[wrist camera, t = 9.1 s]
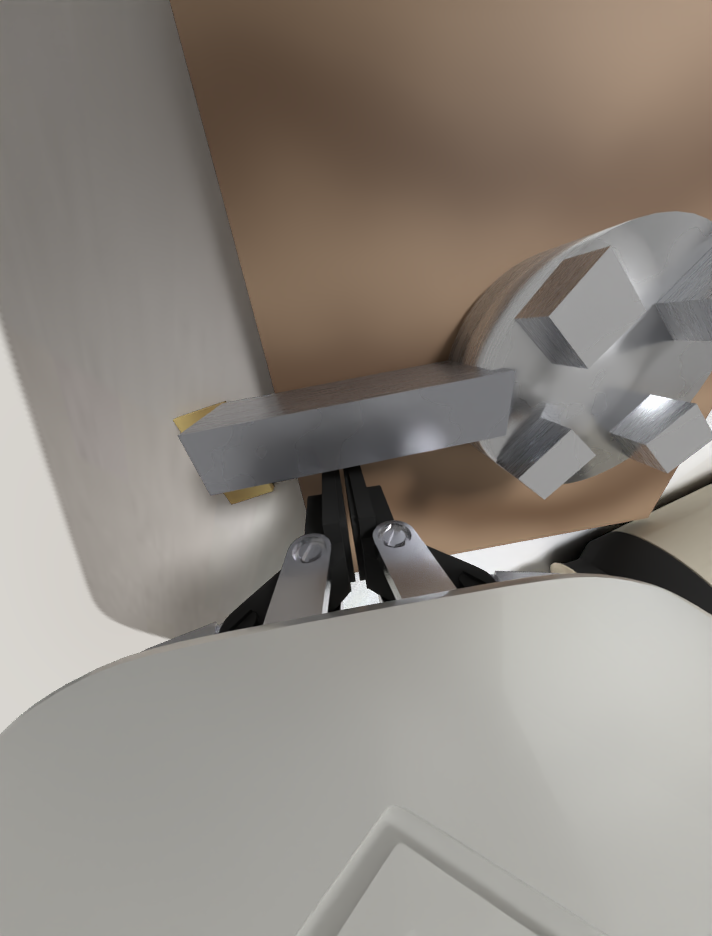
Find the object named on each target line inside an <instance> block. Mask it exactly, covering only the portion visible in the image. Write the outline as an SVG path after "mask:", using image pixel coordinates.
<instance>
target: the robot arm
mask: <svg viewBox="0 0 712 936" xmlns="http://www.w3.org/2000/svg"><path fill="white" fill-rule="evenodd" d="M343 473H344V480H345V487H346V494H347V501H348V508H349V515H350V521H351V527H352V534H353V540H354V546H355V552H356V558H357V564H358V571H359V577H360V581H361V580H366V585H367V589H368V588H369V589H370V590H372V591H374V592H375V593H377V594H378V597H379V602H380V603H377V604H372V605H366V606H361V607H355V608H350V609H345V610H343V600H344V599H345V597H346V596H347V595H348V594H349V592H351V584H350V582H355V574H354V567H353V560H352V553H351V546H350V539H349V532H348V525H347V518H346V511H345V505H344V498H343V492H342V485H341V478H340V472H339V469H338V470H333V471H328V472H324V473H322V494H319V495H312V496H308V498H307V510H306V524H305V535H304V536H301V537H299V538H298V539H296V540H295V541H294V542H293V543H292V544H291V545H290V547H289V549H288V551H287V554H286V557H285V560H284V563H283V566H282V569H281V570H280V571H279V572H278V573H277V574H275V575H274V576H273V577H272V578H271V579H270V580H269V581H267V582H266V583H265V584H264V585H263V586H262V587H261V588H259V589H258V590H257V591H256V592H255V593H254V594H253V595H251V596H250V597H249V598H248V599H247V600H246V601H245V602H243V603H242V604H241V605H240V606H239V607H238V608H237V609H235V610H234V611H233V612H232V613H231V614H230V615H229V616H228V617H227V618H226V619H225V621H224V623H222V624H220V625H218V624H217V623H216V622H214V623H212V624H209V625H207V626H204V627H201V628H199V629H196V630H194V631H191V632H189V633H186V634H184V635H181V636H179V637H176V638H173V639H171V640H168V641H166V642H163V643H161V644H158V645H156V646H153V647H150V648H148V649H146V650H144V651H142V652H140V653H137V654H134V655H130V656H127V657H124V658H122V659H119V660H117V661H114V662H112V663H110V664H107V665H105V666H102V667H100V668H98V669H95V670H93V671H92V672H89V673H88V674H86V675H84V676H82V677H80V678H78V679H76V680H74V681H72V682H70V683H68V684H66V685H65V686H63V687H61V688H59V689H58V690H56V691H54V692H53V693H51V694H49V695H48V696H46V697H45V698H43V699H42V700H40V701H39V702H37V703H36V704H34V705H33V706H32V707H31V708H29V709H28V710H27V711H25V712H24V713H23V714H22V715H20V716H19V717H18V718H17V719H16V720H15V721H14V722H12V724H10V725H9V726H8V727H7V728H6V729H5V730H4V731H3V732H2V733H1V734H0V936H712V615H711V614H709V613H707V612H706V611H704V610H703V609H701V608H699V607H698V606H696V605H694V604H693V603H691V602H689V601H687V600H686V599H684V598H682V597H680V596H678V595H676V594H674V593H672V592H670V591H668V590H666V589H663V588H661V587H658V586H656V585H653V584H649V583H646V582H642V581H638V580H634V579H629V578H624V577H617V576H610V575H603V574H587V573H567V574H560V573H543V572H510V571H495V573H494V575H490V574H488V573H487V572H486V571H484V570H482V569H480V568H478V567H476V566H474V565H471V564H469V563H467V562H464V561H462V560H460V559H457V558H455V557H453V556H450V555H448V554H446V553H443V552H441V551H439V550H436V549H434V548H432V547H429V546H427V545H425V544H424V542H423V541H422V539H421V538H420V537H419V535H418V534H417V533H416V531H415V530H414V529H413V528H412V527H411V526H410V525H409V524H407V523H405V522H402V521H398V520H394V518H393V516H392V513H391V511H390V508H389V506H388V503H387V501H386V498H385V496H384V493H383V490H382V488H381V486H380V485H377V486H371V487H366V483H365V480H364V477H363V473H362V470H361V467H360V465H358V466H353V467H348V468H343Z"/></svg>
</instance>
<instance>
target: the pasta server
mask: <svg viewBox="0 0 712 936" xmlns="http://www.w3.org/2000/svg"><path fill="white" fill-rule="evenodd" d="M711 371H712V221H710V220H709V219H707V218H704V217H702V216H699V215H697V214H694V213H687V212H679V211H672V212H661V213H654V214H650V215H647V216H643V217H639V218H636V219H633V220H630V221H627V222H624V223H622V224H619V225H616V226H613V227H611V228H608V229H605V230H602V231H599V232H597V233H594V234H591V235H588V236H586V237H583V238H580V239H577V240H574V241H572V242H569V243H566V244H563V245H560V246H558V247H555V248H552V249H549V250H547V251H544V252H541V253H539V254H537V255H534V256H532V257H529V258H527V259H526V260H524V261H522V262H520V263H519V264H517V265H515V266H514V267H512V268H511V269H510V270H508V271H507V272H506V273H504V274H503V275H502V276H501V277H499V278H498V279H497V280H496V281H495V282H494V283H493V284H492V285H491V286H490V287H489V288H488V289H487V290H486V291H485V292H484V293H483V295H482V296H481V297H480V298H479V299H478V301H477V302H476V303H475V304H474V306H473V307H472V309H471V310H470V312H469V313H468V315H467V316H466V318H465V320H464V322H463V323H462V325H461V327H460V329H459V331H458V333H457V335H456V338H455V340H454V342H453V345H452V348H451V351H450V354H449V358H448V360H447V361H442V362H436V363H431V364H426V365H421V366H415V367H410V368H405V369H400V370H394V371H389V372H384V373H379V374H373V375H368V376H363V377H358V378H352V379H347V380H342V381H337V382H332V383H326V384H321V385H316V386H311V387H305V388H300V389H295V390H290V391H284V392H279V393H274V394H269V395H263V396H258V397H253V398H248V399H242V400H237V401H232V402H227V403H222V404H220V405H219V406H218V407H216V408H215V409H214V410H212V411H211V412H209V413H208V414H207V415H205V416H204V417H203V418H201V419H200V420H198V421H197V422H196V423H194V424H193V425H192V426H190V427H189V428H187V429H186V430H185V431H183V432H182V433H181V434H179V435H178V437H179V439H180V441H181V443H182V444H183V446H184V448H185V450H186V452H187V454H188V455H189V457H190V459H191V461H192V463H193V465H194V466H195V468H196V470H197V472H198V474H199V476H200V477H201V479H202V481H203V483H204V485H205V486H206V488H207V490H208V492H209V494H210V495H215V494H220V493H225V492H230V491H235V490H240V489H245V488H250V487H255V486H259V485H264V484H269V483H274V482H279V481H284V480H289V479H294V478H299V477H304V476H309V475H314V474H319V473H324V472H328V471H333V470H338V469H343V468H348V467H353V466H358V465H363V464H368V463H373V462H378V461H383V460H388V459H393V458H397V457H402V456H407V455H412V454H417V453H422V452H427V451H432V450H437V449H442V448H447V447H452V446H457V445H462V444H466V443H470V444H471V445H472V446H474V447H475V448H476V449H478V450H479V451H480V452H482V453H483V454H484V455H486V456H487V457H488V458H490V459H491V460H493V461H494V462H495V463H497V464H498V465H499V466H501V467H502V468H503V469H505V470H506V471H507V472H509V473H510V474H511V475H512V476H514V477H515V478H516V479H518V480H519V481H520V482H521V483H523V484H524V485H525V486H527V487H528V488H529V489H531V490H532V491H533V492H535V493H536V494H537V495H539V496H540V497H541V498H543V499H544V500H545V499H546V498H547V497H548V496H549V495H551V494H552V493H553V492H554V491H555V490H556V489H558V488H559V487H560V486H561V485H562V484H568V483H573V482H577V481H581V480H585V479H587V478H590V477H593V476H596V475H598V474H600V473H602V472H605V471H607V470H609V469H611V468H613V467H615V466H616V465H618V464H620V463H622V462H624V461H625V460H627V459H628V458H631V459H633V460H636V461H638V462H640V463H643V464H645V465H648V466H650V467H653V468H655V469H658V470H660V471H663V472H665V473H669V472H670V471H672V470H673V469H674V468H676V467H677V466H678V465H680V464H681V463H682V462H684V461H685V460H686V459H688V458H689V457H690V456H691V455H693V454H694V453H695V452H697V451H698V450H699V449H701V448H702V447H703V446H705V445H706V444H707V443H709V442H710V441H711V440H712V431H711V429H710V427H709V425H708V424H707V422H706V420H705V418H704V416H703V414H702V413H701V411H700V409H699V407H698V405H697V404H696V403H691V400H692V399H693V398H694V396H695V395H696V394H697V393H698V391H699V390H700V388H701V387H702V385H703V384H704V382H705V381H706V379H707V378H708V376H709V375H710V373H711Z"/></svg>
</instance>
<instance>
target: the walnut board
mask: <svg viewBox="0 0 712 936" xmlns="http://www.w3.org/2000/svg"><path fill="white" fill-rule="evenodd" d="M170 4H171V8H172V11H173V15H174V19H175V23H176V26H177V30H178V34H179V38H180V41H181V45H182V49H183V52H184V56H185V60H186V64H187V67H188V71H189V75H190V79H191V82H192V86H193V90H194V93H195V97H196V101H197V105H198V108H199V112H200V116H201V120H202V123H203V127H204V131H205V134H206V138H207V142H208V146H209V149H210V153H211V157H212V161H213V164H214V168H215V172H216V175H217V179H218V183H219V187H220V190H221V194H222V198H223V202H224V205H225V209H226V213H227V216H228V220H229V224H230V228H231V231H232V235H233V239H234V243H235V246H236V250H237V254H238V257H239V261H240V265H241V269H242V272H243V276H244V280H245V284H246V287H247V291H248V295H249V298H250V302H251V306H252V310H253V313H254V317H255V321H256V324H257V328H258V332H259V336H260V339H261V343H262V347H263V351H264V354H265V358H266V362H267V365H268V369H269V373H270V377H271V380H272V384H273V388H274V392H275V393H279V392H284V391H290V390H295V389H300V388H305V387H311V386H316V385H321V384H326V383H332V382H337V381H342V380H347V379H352V378H358V377H363V376H368V375H373V374H379V373H384V372H389V371H394V370H400V369H405V368H410V367H415V366H421V365H426V364H431V363H436V362H442V361H447V360H448V358H449V354H450V351H451V348H452V345H453V342H454V340H455V338H456V335H457V333H458V331H459V329H460V327H461V325H462V323H463V322H464V320H465V318H466V316H467V315H468V313H469V312H470V310H471V309H472V307H473V306H474V304H475V303H476V302H477V301H478V299H479V298H480V297H481V296H482V295H483V293H484V292H485V291H486V290H487V289H488V288H489V287H490V286H491V285H492V284H493V283H494V282H495V281H496V280H497V279H498V278H499V277H501V276H502V275H503V274H504V273H506V272H507V271H508V270H510V269H511V268H512V267H514V266H515V265H517V264H519V263H520V262H522V261H524V260H526V259H527V258H529V257H532V256H534V255H537V254H539V253H541V252H544V251H547V250H549V249H552V248H555V247H558V246H560V245H563V244H566V243H569V242H572V241H574V240H577V239H580V238H583V237H586V236H588V235H591V234H594V233H597V232H599V231H602V230H605V229H608V228H611V227H613V226H616V225H619V224H622V223H624V222H627V221H630V220H633V219H636V218H639V217H643V216H647V215H650V214H654V213H661V212H672V211H679V212H687V213H694V214H697V215H699V216H702V217H704V218H707V219H709V220H710V221H712V0H170ZM222 403H227V402H226V401H224V402H221V403H218V404H215V405H212V406H209V407H206V408H203V409H201V410H198V411H195V412H192V413H189V414H186V415H183V416H180V417H177V418H175V419H174V420H173V421H174V423H175V424H176V426H177V427H178V428H179V430H180V431H181V433H182V432H183V431H185V430H186V429H187V428H189V427H190V426H192V425H193V424H194V423H196V422H197V421H198V420H200V419H201V418H203V417H204V416H205V415H207V414H208V413H209V412H211V411H212V410H214V409H215V408H216V407H218V406H219V405H220V404H222ZM691 403H696V404H697V405H698V407H699V409H700V411H701V413H702V414H703V416H704V418H705V420H706V418H707V416H708V414H709V413H710V411H711V409H712V371H711V373H710V375H709V376H708V378H707V379H706V381H705V382H704V384H703V385H702V387H701V388H700V390H699V391H698V393H697V394H696V395H695V396H694V398H693V399H692V400H691ZM678 466H679V465H678ZM678 466H677V467H678ZM360 467H361V470H362V473H363V477H364V480H365V483H366V487H371V486H377V485H380V486H381V488H382V490H383V493H384V496H385V498H386V501H387V503H388V506H389V508H390V511H391V513H392V516H393V518H394V520H398V521H402V522H405V523H407V524H409V525H410V526H411V527H412V528H413V529H414V530H415V531H416V533H417V534H418V535H419V537H420V538H421V539H422V541H423V542H424V544H425V545H427V546H429V547H432V548H434V549H436V550H439V551H441V552H443V553H446V554H448V555H452V554H457V553H462V552H468V551H473V550H478V549H484V548H489V547H495V546H500V545H505V544H511V543H516V542H521V541H527V540H532V539H537V538H543V537H548V536H554V535H559V534H564V533H570V532H575V531H580V530H586V529H591V528H596V527H602V526H607V525H613V524H618V523H623V522H629V521H634V520H639V519H645V518H648V517H649V515H650V514H651V512H652V510H653V508H654V507H655V505H656V503H657V502H658V500H659V498H660V497H661V495H662V493H663V491H664V490H665V488H666V486H667V485H668V483H669V481H670V479H671V478H672V476H673V474H674V473H675V471H676V469H677V467H676V468H674V469H673V470H672V471H670V472H669V473H665V472H663V471H660V470H658V469H655V468H653V467H650V466H648V465H645V464H643V463H640V462H638V461H636V460H633V459H631V458H628V459H627V460H625V461H624V462H622V463H620V464H618V465H616V466H615V467H613V468H611V469H609V470H607V471H605V472H602V473H600V474H598V475H596V476H593V477H590V478H587V479H585V480H581V481H577V482H573V483H568V484H562V485H561V486H560V487H559V488H558V489H556V490H555V491H554V492H553V493H552V494H551V495H549V496H548V497H547V498H546V499H545V500H544V499H543V498H541V497H540V496H539V495H537V494H536V493H535V492H533V491H532V490H531V489H529V488H528V487H527V486H525V485H524V484H523V483H521V482H520V481H519V480H518V479H516V478H515V477H514V476H512V475H511V474H510V473H509V472H507V471H506V470H505V469H503V468H502V467H501V466H499V465H498V464H497V463H495V462H494V461H493V460H491V459H490V458H488V457H487V456H486V455H484V454H483V453H482V452H480V451H479V450H478V449H476V448H475V447H474V446H472V445H471V444H470V443H466V444H462V445H457V446H452V447H447V448H442V449H437V450H432V451H427V452H422V453H417V454H412V455H407V456H402V457H397V458H393V459H388V460H383V461H378V462H373V463H368V464H363V465H360ZM339 472H340V478H341V485H342V492H343V498H344V505H345V511H346V518H347V525H348V532H349V539H350V546H351V553H352V560H353V567H354V573H355V572H359V571H358V564H357V558H356V552H355V546H354V540H353V534H352V527H351V521H350V515H349V508H348V501H347V494H346V487H345V480H344V473H343V469H339ZM298 481H299V485H300V488H301V492H302V496H303V500H304V503H305V507H306V510H307V498H308V496H312V495H319V494H322V473H319V474H314V475H309V476H304V477H299V478H298ZM273 490H274V486H273V484H272V483H269V484H264V485H259V486H255V487H250V488H245V489H240V490H235V491H230V492H225V493H224V494H225V496H226V497H227V499H228V500H229V502H230V503H231V505H232V504H235V503H238V502H241V501H244V500H247V499H250V498H253V497H256V496H259V495H263V494H266V493H269V492H272V491H273Z"/></svg>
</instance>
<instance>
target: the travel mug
mask: <svg viewBox="0 0 712 936" xmlns="http://www.w3.org/2000/svg"><path fill="white" fill-rule="evenodd" d="M550 571H551V573H560V574H567V573H587V574H603V575H610V576H617V577H624V578H629V579H634V580H638V581H642V582H646V583H649V584H653V585H656V586H658V587H661V588H663V589H666V590H668V591H670V592H672V593H674V594H676V595H678V596H680V597H682V598H684V599H686V600H687V601H689V602H691V603H693V604H694V605H696V606H698V607H699V608H701V609H703V610H704V611H706V612H707V613H709V614H711V615H712V483H711V484H709V485H707V486H705V487H703V488H701V489H699V490H697V491H695V492H692V493H690V494H688V495H686V496H684V497H682V498H680V499H678V500H676V501H674V502H672V503H669V504H667V505H665V506H663V507H661V508H659V509H657V510H655V511H653V512H651V514H650V515H649V517H648V518H645V519H639V520H634V521H632V522H630V523H628V524H626V525H624V526H621V527H619V528H617V529H615V530H613V531H611V532H609V533H607V534H605V535H603V536H601V537H598V538H596V539H594V540H592V541H590V542H588V543H587V545H586V547H585V548H584V550H583V552H582V554H581V555H580V557H579V559H578V560H574V561H571V562H568V563H563V564H561V563H553V564H552V565H551V566H550Z"/></svg>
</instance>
